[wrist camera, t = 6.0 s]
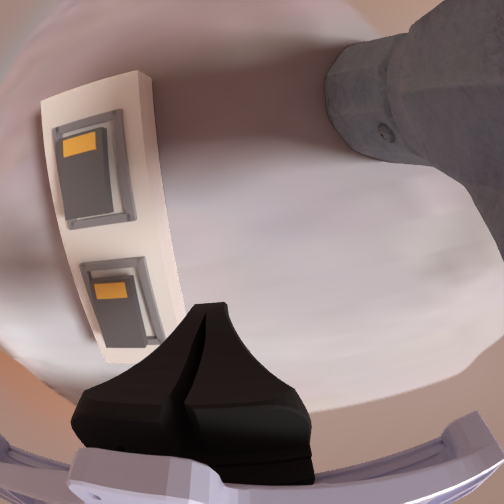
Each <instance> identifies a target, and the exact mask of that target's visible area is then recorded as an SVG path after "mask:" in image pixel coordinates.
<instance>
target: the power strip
mask: <svg viewBox="0 0 504 504" xmlns="http://www.w3.org/2000/svg"><path fill="white" fill-rule="evenodd" d="M41 115H42V128H43V139H44V148H45V156H46V163H47V170H48V176H49V182H50V188H51V193H52V198H53V203H54V208H55V213H56V217H57V221H58V226H59V230H60V234H61V238H62V242H63V245H64V249H65V253H66V256H67V260H68V263H69V266H70V270H71V273H72V276H73V279H74V282H75V285H76V288H77V291H78V294H79V297H80V300H81V303H82V305H83V308H84V311H85V313H86V316H87V319H88V321H89V324H90V326H91V329H92V331H93V334H94V336H95V339H96V341H97V343H98V346H99V348H100V350H101V352H102V355H103V357H104V359H105V361H106V363H131V364H137V363H139V362H140V361H142V360H143V359H144V358H146V357H147V356H148V355H149V354H151V353H152V352H153V351H154V350H155V349H156V348H157V347H159V346H160V345H161V344H162V343H163V342H164V341H165V340H166V338H167V337H168V336H169V335H170V334H171V333H172V332H173V331H174V330H175V328H176V327H177V326H178V325H179V324H180V322H181V321H182V320H183V319H184V317H185V316H186V315H187V314H186V310H185V305H184V301H183V296H182V292H181V287H180V282H179V277H178V272H177V267H176V262H175V256H174V251H173V246H172V240H171V234H170V228H169V223H168V216H167V210H166V204H165V197H164V190H163V183H162V176H161V169H160V161H159V153H158V144H157V135H156V125H155V115H154V104H153V91H152V78H150V77H149V76H147V75H145V74H144V73H142V72H141V71H139V70H135V71H131V72H127V73H123V74H119V75H115V76H112V77H108V78H105V79H101V80H98V81H95V82H92V83H89V84H86V85H82V86H80V87H77V88H74V89H71V90H68V91H65V92H63V93H60V94H57V95H55V96H52V97H50V98H47V99H45V100H42V101H41ZM99 127H104V128H107V144H108V159H109V172H110V183H111V192H112V201H113V209H114V212H112V213H108V214H102V215H95V216H89V217H84V218H78V219H72V220H66V221H65V214H64V206H63V198H62V188H61V177H60V163H59V142H58V139H61V138H64V137H67V136H70V135H74V134H77V133H81V132H84V131H88V130H91V129H95V128H99ZM126 275H134V280H135V286H136V291H137V296H138V300H139V305H140V310H141V314H142V319H143V323H144V327H145V331H146V336H147V340H148V344H147V346H146V348H106V345H105V342H104V338H103V335H102V332H101V328H100V325H99V321H98V317H97V313H96V309H95V306H94V301H93V297H92V293H91V289H90V284H89V281H90V280H91V279H93V278H101V277H114V276H126Z"/></svg>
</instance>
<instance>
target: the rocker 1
mask: <svg viewBox="0 0 504 504" xmlns="http://www.w3.org/2000/svg"><path fill="white" fill-rule="evenodd" d="M58 142H59V163H60V177H61V188H62V198H63V206H64V214H65V221H66V220H72V219H78V218H84V217H89V216H95V215H102V214H108V213H112V212H114V209H113V201H112V192H111V183H110V172H109V159H108V144H107V128H104V127H99V128H95V129H91V130H88V131H84V132H81V133H77V134H74V135H70V136H67V137H64V138H61V139H58Z"/></svg>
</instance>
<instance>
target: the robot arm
mask: <svg viewBox="0 0 504 504" xmlns="http://www.w3.org/2000/svg"><path fill="white" fill-rule="evenodd" d="M71 426H72V429H73V431H74V432H75V434H76V435H77V437H78V438H79V439H80V440H81V442H82V443H83V444H84V445H85V446H86V448H79V449H78V451H77V452H76V453H75V455H74V458H73V461H72V464H71V465H70V464H66V463H62V462H59V461H55V460H52V459H49V458H45V457H42V456H39V455H36V454H33V453H30V452H28V451H25V450H22V449H19V448H17V447H14V446H12V445H10V444H9V442H8V441H7V440H6V439H5V438H4V437H3V436H2V435H1V434H0V498H2V499H4V500H6V501H8V502H10V503H11V504H451V503H453V502H454V501H456V500H458V499H460V498H462V497H464V496H465V495H467V494H469V493H471V492H472V491H474V490H475V489H476V488H477V487H478V486H479V485H480V484H482V483H483V482H484V481H485V480H486V479H487V478H488V477H489V476H490V475H491V474H492V473H493V472H494V471H495V470H496V469H497V468H498V467H499V466H500V465H501V464H502V463H503V462H504V452H503V451H502V449H501V447H500V445H499V444H498V442H497V440H496V439H495V437H494V436H493V434H492V433H491V431H490V429H489V428H488V426H487V425H486V423H485V422H484V420H483V418H482V417H481V415H480V414H479V412H478V411H473V412H471V413H469V414H467V415H465V416H463V417H461V418H458V419H456V420H454V421H453V422H451V423H450V424H449V425H447V427H446V428H445V429H444V431H443V433H442V435H441V437H438V438H436V439H433V440H431V441H428V442H426V443H423V444H421V445H418V446H415V447H413V448H410V449H407V450H404V451H401V452H399V453H395V454H392V455H389V456H386V457H382V458H379V459H376V460H372V461H369V462H365V463H361V464H357V465H353V466H349V467H345V468H340V469H336V470H331V471H326V472H321V473H315V474H314V469H313V465H312V460H311V456H312V453H311V448H310V436H311V428H312V426H311V420H310V417H309V414H308V412H307V409H306V407H305V405H304V404H303V402H302V400H301V398H300V397H299V395H298V394H297V392H296V391H295V389H294V388H292V387H291V386H289V385H287V384H286V383H284V382H283V381H281V380H280V379H278V378H277V377H276V376H274V375H273V374H272V373H270V372H269V371H268V370H267V369H266V368H265V367H264V366H263V365H262V364H261V363H259V362H258V361H257V360H256V358H255V357H254V356H253V355H252V354H251V353H250V351H249V350H248V349H247V348H246V346H245V345H244V344H243V342H242V341H241V339H240V337H239V336H238V334H237V332H236V331H235V329H234V327H233V325H232V323H231V320H230V318H229V314H228V307H227V304H226V303H225V302H218V303H205V304H195V305H194V306H193V307H192V308H191V310H190V311H189V312H188V314H187V315H186V316H185V317H184V319H183V320H182V321H181V322H180V324H179V325H178V326H177V327H176V328H175V330H174V331H173V332H172V333H171V334H170V335H169V336H168V337H167V338H166V340H165V341H164V342H163V343H162V344H161V345H160V346H159V347H157V348H156V349H155V350H154V351H153V352H152V353H151V354H149V355H148V356H147V357H146V358H144V359H143V360H142V361H140V362H139V363H137V364H136V365H134V366H133V367H131V368H130V369H128V370H127V371H125V372H123V373H122V374H120V375H118V376H116V377H114V378H113V379H111V380H109V381H107V382H104V383H102V384H100V385H97V386H95V387H92V388H90V389H87V390H85V391H84V392H83V394H82V396H81V398H80V400H79V402H78V405H77V407H76V409H75V412H74V414H73V416H72V419H71Z"/></svg>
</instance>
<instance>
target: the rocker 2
mask: <svg viewBox="0 0 504 504" xmlns="http://www.w3.org/2000/svg"><path fill="white" fill-rule="evenodd" d="M89 284H90V289H91V293H92V297H93V301H94V306H95V309H96V313H97V317H98V321H99V325H100V328H101V332H102V335H103V338H104V342H105V345H106V348H146V346H147V344H148V340H147V336H146V331H145V327H144V323H143V319H142V314H141V310H140V305H139V300H138V296H137V291H136V286H135V280H134V275H126V276H114V277H101V278H93V279H91V280H90V281H89Z"/></svg>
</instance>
